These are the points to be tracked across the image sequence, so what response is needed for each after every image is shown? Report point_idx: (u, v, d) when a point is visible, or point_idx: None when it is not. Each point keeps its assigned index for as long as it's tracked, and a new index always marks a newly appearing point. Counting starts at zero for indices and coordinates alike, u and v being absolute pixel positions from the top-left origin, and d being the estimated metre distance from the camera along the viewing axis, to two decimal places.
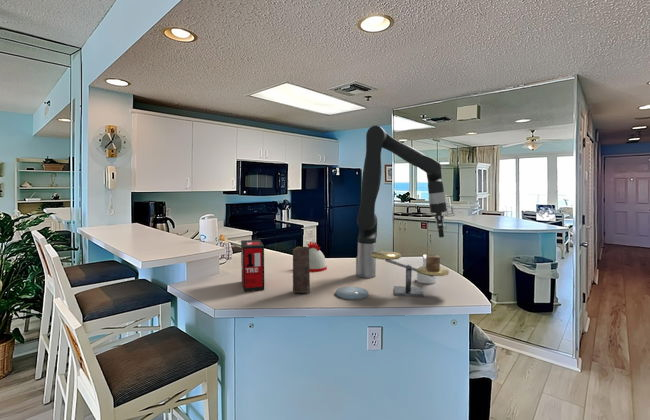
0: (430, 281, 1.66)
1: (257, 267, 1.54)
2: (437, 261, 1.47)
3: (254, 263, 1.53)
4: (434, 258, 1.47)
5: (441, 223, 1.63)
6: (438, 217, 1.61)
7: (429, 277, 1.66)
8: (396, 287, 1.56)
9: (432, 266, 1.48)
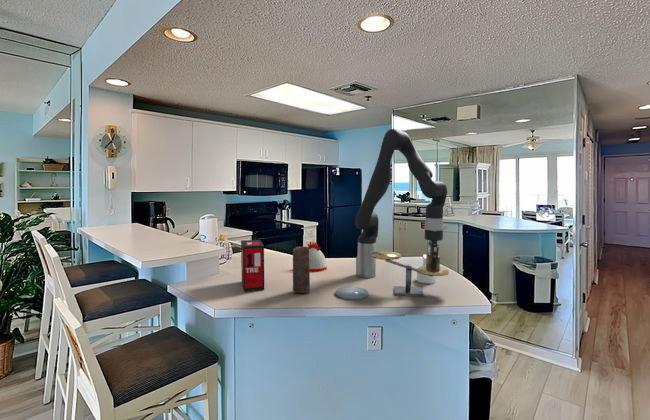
0: (430, 281, 1.66)
1: (257, 267, 1.54)
2: (437, 261, 1.47)
3: (254, 263, 1.53)
4: None
5: (435, 254, 1.46)
6: (434, 249, 1.43)
7: (429, 277, 1.66)
8: (396, 287, 1.56)
9: None
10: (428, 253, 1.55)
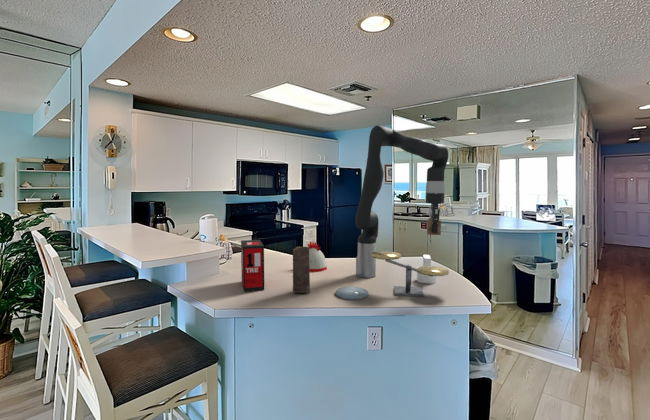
0: (430, 281, 1.66)
1: (257, 267, 1.54)
2: (438, 224, 1.46)
3: (254, 263, 1.53)
4: None
5: (436, 217, 1.45)
6: (435, 211, 1.42)
7: (429, 277, 1.66)
8: (396, 287, 1.56)
9: None
10: (429, 218, 1.54)
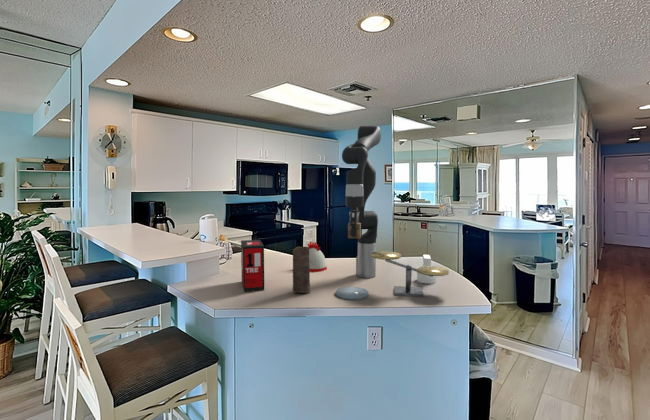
0: (430, 281, 1.66)
1: (257, 267, 1.54)
2: (357, 228, 1.45)
3: (254, 263, 1.53)
4: None
5: (355, 221, 1.44)
6: (352, 215, 1.40)
7: (429, 277, 1.66)
8: (396, 287, 1.56)
9: None
10: (352, 221, 1.52)
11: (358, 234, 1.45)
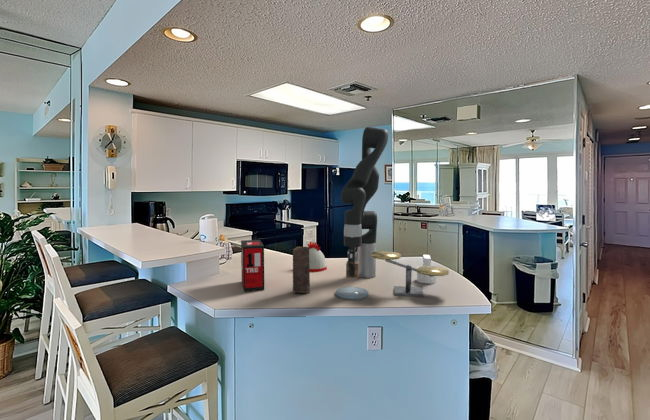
0: (430, 281, 1.66)
1: (257, 267, 1.54)
2: (356, 267, 1.46)
3: (254, 263, 1.53)
4: None
5: (353, 261, 1.45)
6: (350, 256, 1.42)
7: (429, 277, 1.66)
8: (396, 287, 1.56)
9: None
10: None
11: (356, 274, 1.46)
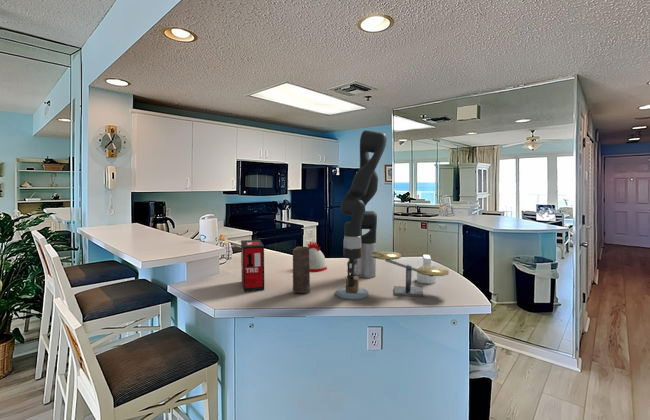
0: (430, 281, 1.66)
1: (257, 267, 1.54)
2: (355, 283, 1.47)
3: (254, 263, 1.53)
4: None
5: None
6: (349, 265, 1.42)
7: (429, 277, 1.66)
8: (396, 287, 1.56)
9: (350, 288, 1.47)
10: None
11: (356, 289, 1.47)
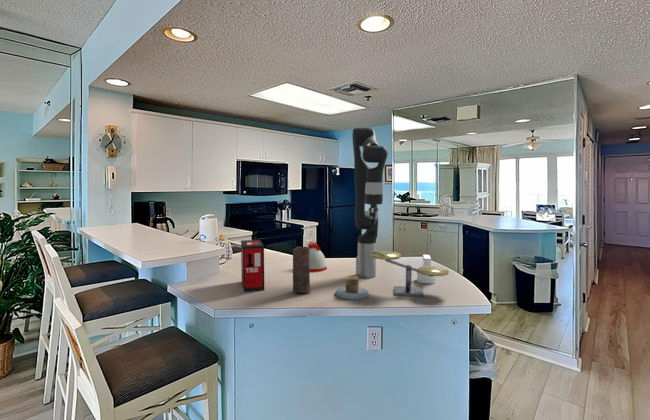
0: (430, 281, 1.66)
1: (257, 267, 1.54)
2: (355, 283, 1.47)
3: (254, 263, 1.53)
4: (352, 280, 1.47)
5: (374, 216, 1.47)
6: (371, 209, 1.44)
7: (429, 277, 1.66)
8: (396, 287, 1.56)
9: (350, 288, 1.47)
10: None
11: (356, 289, 1.47)
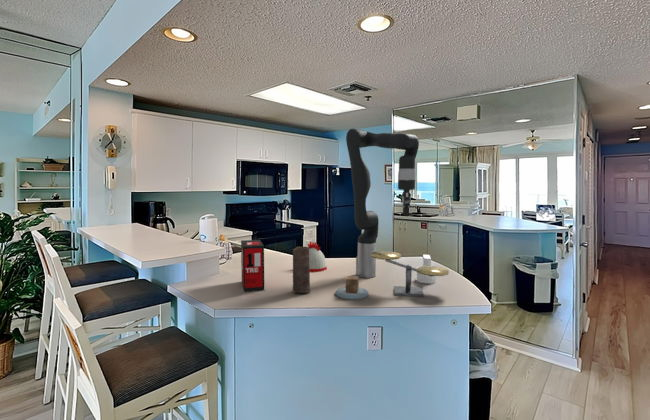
0: (430, 281, 1.66)
1: (257, 267, 1.54)
2: (355, 283, 1.47)
3: (254, 263, 1.53)
4: (352, 280, 1.47)
5: (408, 201, 1.54)
6: (406, 194, 1.51)
7: (429, 277, 1.66)
8: (396, 287, 1.56)
9: (350, 288, 1.47)
10: (402, 202, 1.65)
11: (356, 289, 1.47)
